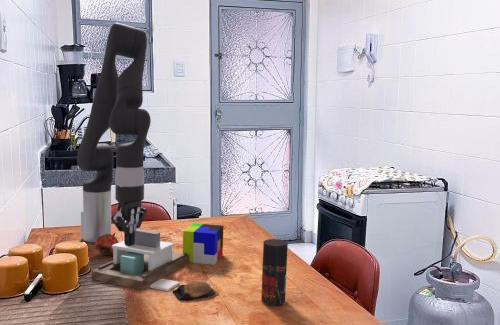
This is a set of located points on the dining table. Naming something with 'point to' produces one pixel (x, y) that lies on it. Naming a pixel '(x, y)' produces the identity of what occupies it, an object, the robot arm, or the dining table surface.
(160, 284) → the pad
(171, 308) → the dining table surface
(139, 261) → the block
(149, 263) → the cover
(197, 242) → the puzzle toy
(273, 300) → the deodorant
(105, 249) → the pomegranate
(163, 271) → the brown flat frame
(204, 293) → the bread roll
